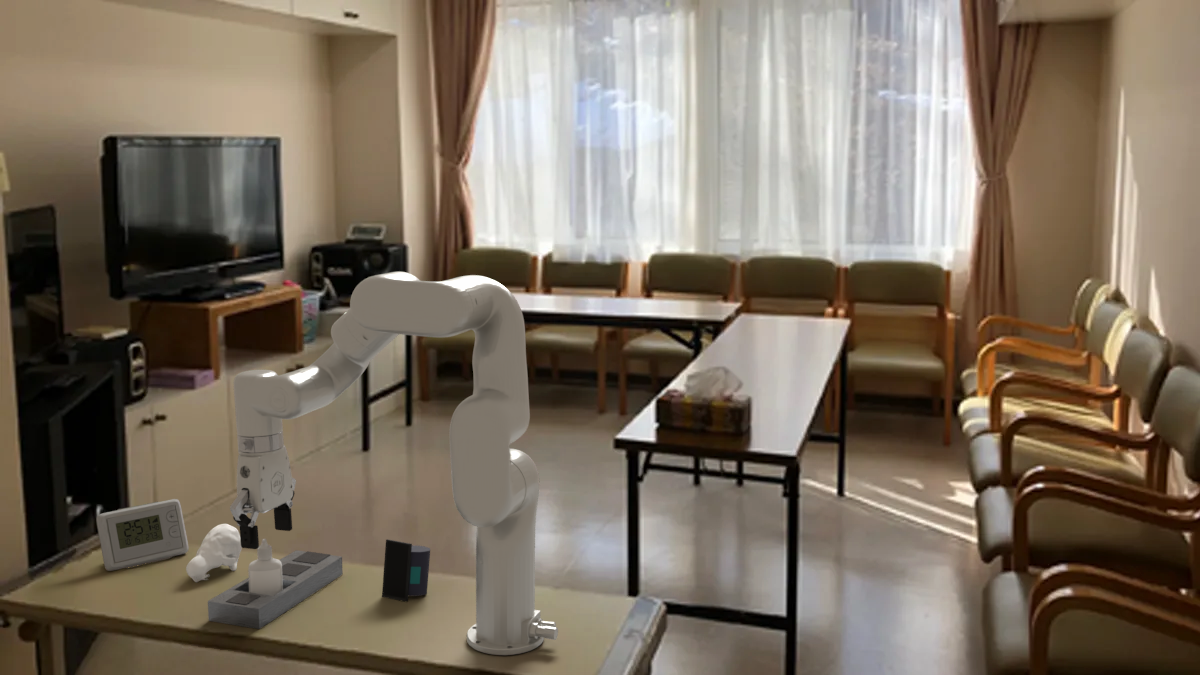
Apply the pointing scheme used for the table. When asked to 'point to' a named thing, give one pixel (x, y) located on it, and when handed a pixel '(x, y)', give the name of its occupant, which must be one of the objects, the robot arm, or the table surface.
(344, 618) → the table surface
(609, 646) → the table surface
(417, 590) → the speaker
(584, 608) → the table surface
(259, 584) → the eye dropper bottle
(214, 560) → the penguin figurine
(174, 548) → the digital clock
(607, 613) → the table surface
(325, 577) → the rail
